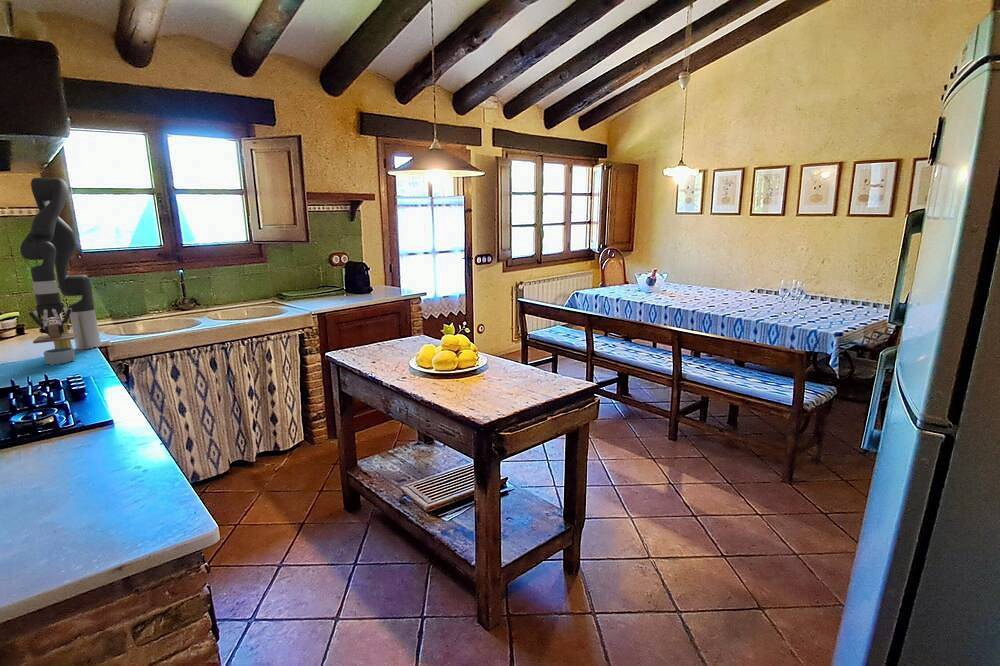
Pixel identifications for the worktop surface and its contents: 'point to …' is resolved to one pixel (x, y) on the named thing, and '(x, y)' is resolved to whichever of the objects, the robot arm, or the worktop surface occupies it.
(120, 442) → the worktop surface
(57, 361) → the bowl
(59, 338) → the lid
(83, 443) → the worktop surface
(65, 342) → the vase
